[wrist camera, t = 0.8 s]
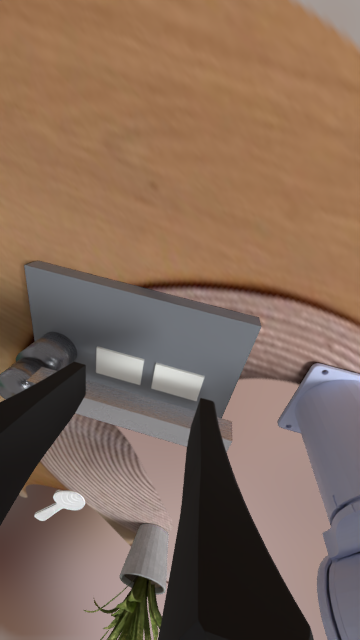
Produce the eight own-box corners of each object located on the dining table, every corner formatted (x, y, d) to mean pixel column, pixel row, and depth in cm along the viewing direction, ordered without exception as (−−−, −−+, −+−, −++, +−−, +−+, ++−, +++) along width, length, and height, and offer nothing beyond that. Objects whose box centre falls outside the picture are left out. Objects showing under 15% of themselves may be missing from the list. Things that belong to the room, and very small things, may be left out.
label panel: (258, 317, 18) (261, 327, 17) (210, 433, 26) (209, 447, 24) (37, 260, 19) (22, 265, 18) (51, 386, 27) (40, 397, 25)
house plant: (97, 501, 38) (19, 681, 24) (176, 507, 34) (141, 726, 20) (126, 542, 44) (78, 708, 30) (197, 552, 40) (181, 746, 26)
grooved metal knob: (85, 329, 22) (54, 357, 18) (85, 358, 24) (57, 390, 20) (50, 320, 22) (12, 345, 18) (53, 349, 24) (19, 378, 20)
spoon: (27, 509, 46) (25, 512, 45) (67, 483, 38) (65, 487, 37) (50, 522, 47) (48, 526, 46) (93, 500, 39) (91, 504, 38)
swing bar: (233, 415, 17) (234, 443, 15) (222, 438, 18) (222, 466, 16) (15, 353, 18) (-10, 371, 16) (20, 379, 20) (-3, 398, 18)
